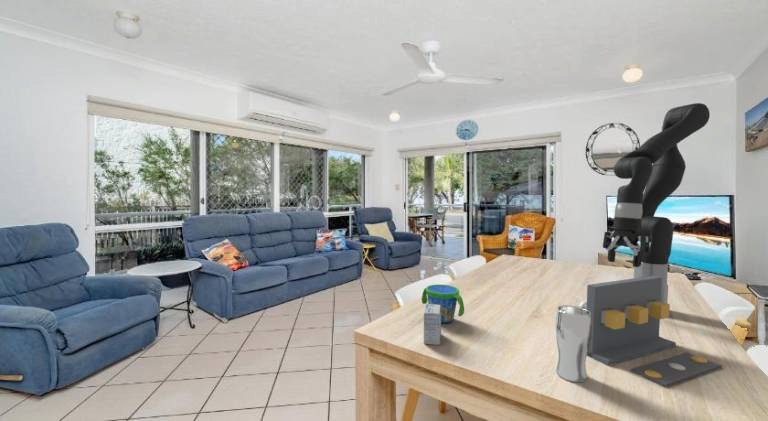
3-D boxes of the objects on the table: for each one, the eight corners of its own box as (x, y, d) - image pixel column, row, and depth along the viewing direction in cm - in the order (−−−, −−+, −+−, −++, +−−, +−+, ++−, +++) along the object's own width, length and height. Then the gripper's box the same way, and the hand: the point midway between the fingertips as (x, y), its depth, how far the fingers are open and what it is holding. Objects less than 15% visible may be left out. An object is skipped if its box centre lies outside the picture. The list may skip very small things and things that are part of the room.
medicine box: (439, 345, 89) (440, 314, 89) (423, 344, 90) (423, 312, 90) (440, 333, 97) (441, 304, 96) (425, 332, 98) (425, 303, 97)
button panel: (635, 332, 99) (638, 272, 98) (675, 346, 90) (679, 280, 89) (570, 347, 89) (573, 280, 88) (608, 365, 80) (611, 291, 79)
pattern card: (686, 354, 85) (686, 351, 85) (721, 367, 79) (722, 364, 79) (630, 371, 77) (630, 367, 77) (665, 387, 71) (665, 383, 71)
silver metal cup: (547, 367, 78) (549, 305, 78) (575, 366, 79) (578, 304, 78) (566, 384, 71) (568, 316, 71) (597, 383, 72) (599, 315, 71)
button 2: (630, 306, 98) (631, 293, 98) (669, 318, 89) (670, 303, 89) (621, 308, 96) (622, 294, 96) (660, 320, 87) (661, 305, 87)
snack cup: (471, 324, 104) (472, 291, 104) (448, 331, 98) (448, 297, 98) (436, 309, 117) (437, 280, 116) (413, 315, 111) (414, 285, 110)
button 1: (588, 314, 91) (588, 300, 91) (625, 328, 82) (626, 312, 82) (577, 316, 89) (578, 301, 89) (614, 330, 80) (615, 314, 80)
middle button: (610, 310, 94) (610, 296, 94) (648, 323, 85) (649, 307, 85) (600, 312, 93) (601, 298, 93) (638, 325, 84) (639, 309, 84)
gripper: (658, 218, 107) (653, 269, 108) (615, 215, 121) (611, 260, 121) (641, 217, 105) (636, 268, 105) (600, 214, 118) (595, 260, 119)
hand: (623, 264), depth 113 cm, fingers open, 8 cm apart
